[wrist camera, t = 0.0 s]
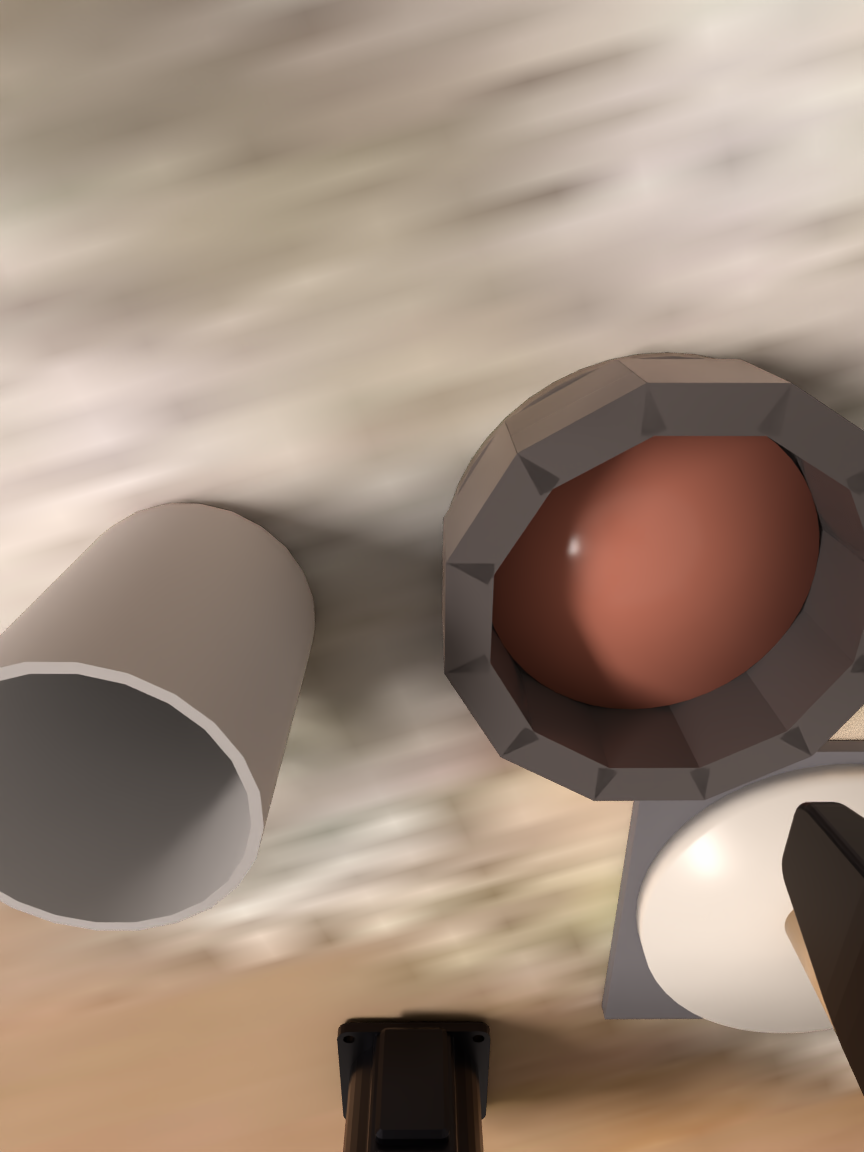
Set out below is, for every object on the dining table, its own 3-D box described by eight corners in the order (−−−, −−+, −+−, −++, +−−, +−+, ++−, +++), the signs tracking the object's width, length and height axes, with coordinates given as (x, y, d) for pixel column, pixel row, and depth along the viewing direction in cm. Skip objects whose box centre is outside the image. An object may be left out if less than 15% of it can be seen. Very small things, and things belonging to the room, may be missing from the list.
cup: (351, 549, 23) (311, 733, 15) (253, 786, 27) (179, 1033, 19) (113, 458, 21) (-73, 606, 13) (47, 722, 25) (-127, 958, 17)
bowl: (794, 716, 25) (854, 800, 22) (440, 717, 25) (442, 801, 22) (888, 352, 20) (988, 383, 17) (444, 351, 20) (448, 382, 17)
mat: (928, 1003, 32) (937, 1017, 32) (601, 1005, 32) (604, 1019, 31) (1046, 740, 26) (1059, 751, 25) (643, 741, 26) (647, 752, 25)
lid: (928, 1009, 31) (1012, 1142, 27) (617, 1010, 31) (650, 1144, 27) (1039, 762, 26) (1169, 879, 21) (660, 763, 26) (710, 881, 21)
